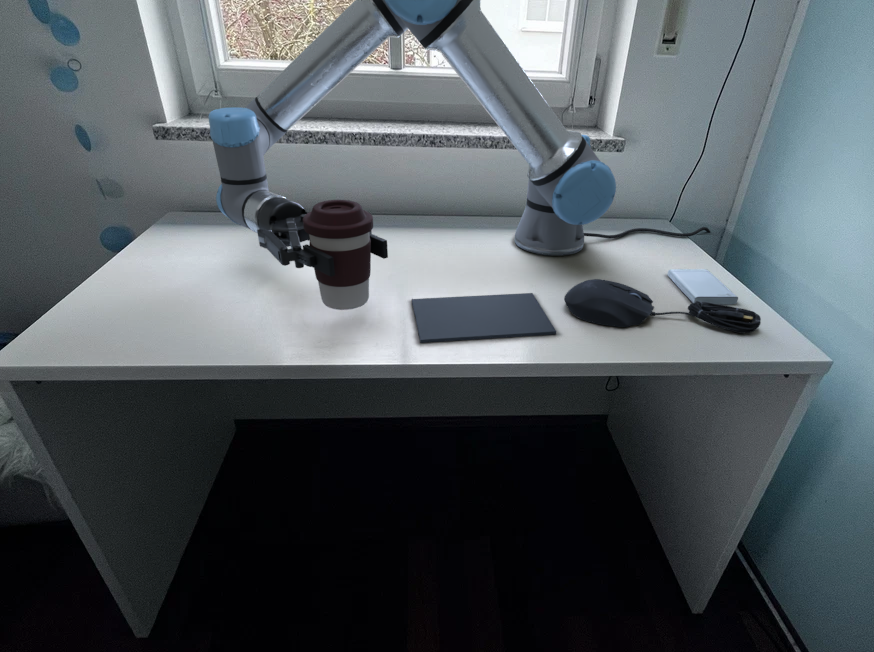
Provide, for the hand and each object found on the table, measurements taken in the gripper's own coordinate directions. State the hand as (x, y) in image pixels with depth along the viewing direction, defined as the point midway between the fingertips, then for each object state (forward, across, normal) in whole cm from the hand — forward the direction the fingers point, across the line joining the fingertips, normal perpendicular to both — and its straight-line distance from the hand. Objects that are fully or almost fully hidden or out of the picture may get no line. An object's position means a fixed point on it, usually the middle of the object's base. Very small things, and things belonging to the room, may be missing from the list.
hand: (359, 258), depth 79 cm
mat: (+8, -18, -13) cm, 24 cm away
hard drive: (+29, -57, -14) cm, 65 cm away
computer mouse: (+29, -40, -14) cm, 51 cm away
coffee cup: (-4, 0, -9) cm, 10 cm away
